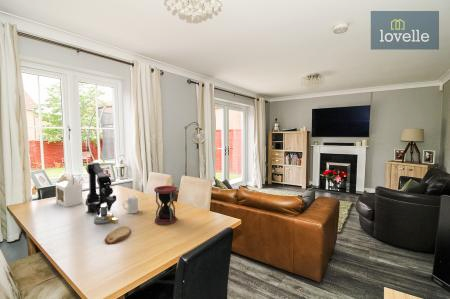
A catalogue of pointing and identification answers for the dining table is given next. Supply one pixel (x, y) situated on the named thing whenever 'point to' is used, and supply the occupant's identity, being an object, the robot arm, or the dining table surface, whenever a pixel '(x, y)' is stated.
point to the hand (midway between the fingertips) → (104, 213)
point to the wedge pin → (104, 210)
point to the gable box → (68, 190)
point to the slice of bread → (117, 235)
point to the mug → (132, 204)
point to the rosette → (105, 219)
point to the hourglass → (165, 205)
